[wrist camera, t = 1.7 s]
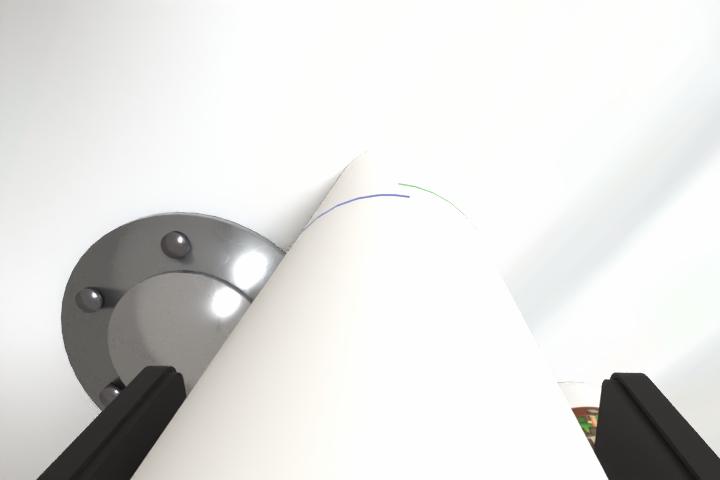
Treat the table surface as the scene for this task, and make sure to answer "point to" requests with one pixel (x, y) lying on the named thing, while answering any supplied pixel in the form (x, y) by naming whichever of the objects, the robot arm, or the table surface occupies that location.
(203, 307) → the flange
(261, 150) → the table surface
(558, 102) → the table surface
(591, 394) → the milk bottle
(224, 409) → the cylindrical container
